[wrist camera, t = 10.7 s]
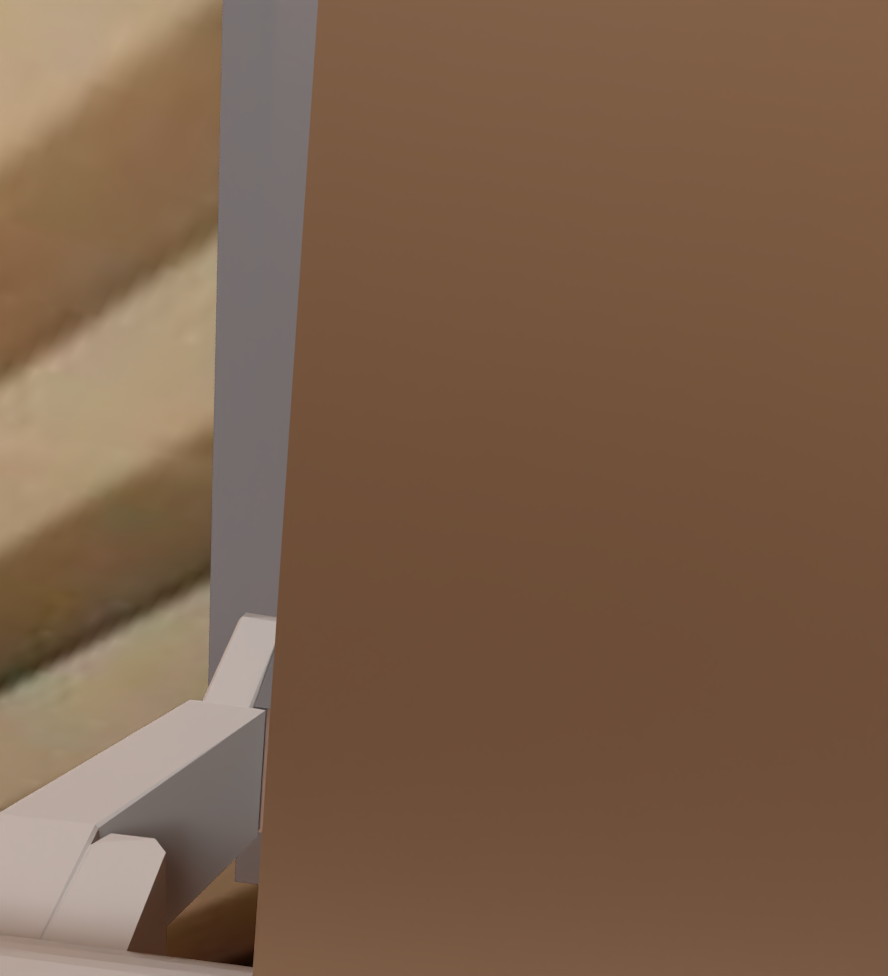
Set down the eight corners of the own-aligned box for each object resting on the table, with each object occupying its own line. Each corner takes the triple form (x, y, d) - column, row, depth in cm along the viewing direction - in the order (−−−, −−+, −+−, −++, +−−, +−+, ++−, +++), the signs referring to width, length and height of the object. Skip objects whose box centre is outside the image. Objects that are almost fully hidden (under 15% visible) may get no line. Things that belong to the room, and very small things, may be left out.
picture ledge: (256, -226, 12) (179, -336, 9) (1001, -92, 13) (1175, -155, 10) (222, 761, 22) (179, 873, 18) (653, 821, 22) (682, 942, 19)
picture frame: (453, 60, 10) (324, -128, 2) (769, 113, 11) (2338, 233, 2) (350, 805, 17) (208, 1624, 8) (550, 832, 17) (636, 1666, 8)
